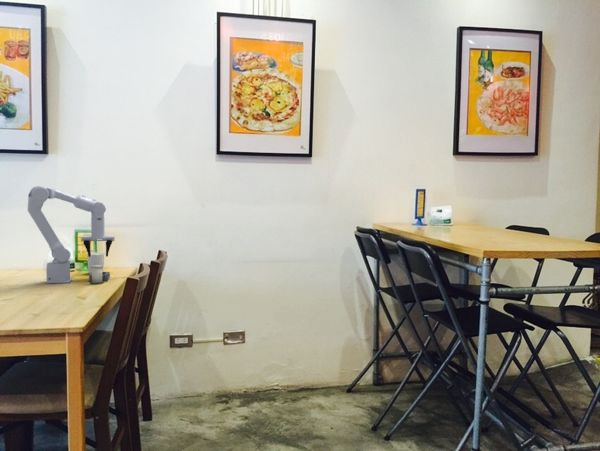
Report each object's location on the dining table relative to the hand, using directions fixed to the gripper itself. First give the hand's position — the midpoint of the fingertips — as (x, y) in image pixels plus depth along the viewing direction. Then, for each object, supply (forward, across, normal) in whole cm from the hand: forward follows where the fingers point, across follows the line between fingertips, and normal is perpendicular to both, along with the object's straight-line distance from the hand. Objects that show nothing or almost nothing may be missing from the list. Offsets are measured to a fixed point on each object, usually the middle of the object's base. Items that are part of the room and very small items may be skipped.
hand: (98, 256), depth 238 cm
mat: (+10, +1, -12) cm, 16 cm away
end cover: (+10, +1, -11) cm, 15 cm away
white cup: (+11, -3, +13) cm, 17 cm away
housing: (+10, +1, -4) cm, 11 cm away
